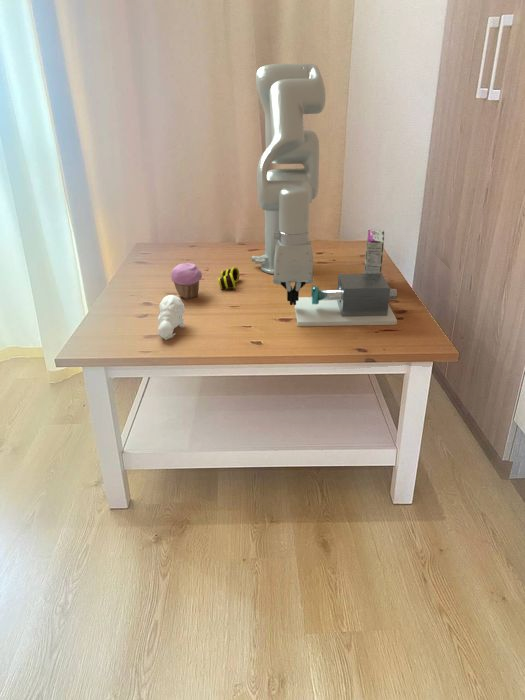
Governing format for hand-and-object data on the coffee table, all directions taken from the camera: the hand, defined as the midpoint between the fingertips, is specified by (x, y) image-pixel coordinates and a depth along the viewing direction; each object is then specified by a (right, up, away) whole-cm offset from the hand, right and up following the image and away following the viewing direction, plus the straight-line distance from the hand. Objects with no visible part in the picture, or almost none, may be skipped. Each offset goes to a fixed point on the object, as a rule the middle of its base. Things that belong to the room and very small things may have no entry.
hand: (292, 302), depth 146 cm
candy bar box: (+25, +6, +16) cm, 30 cm away
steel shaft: (+17, 0, 0) cm, 17 cm away
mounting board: (+14, -2, +1) cm, 14 cm away
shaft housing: (+19, -1, +1) cm, 19 cm away
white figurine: (-32, -8, -7) cm, 34 cm away
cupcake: (-30, +3, +13) cm, 33 cm away
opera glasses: (-19, +7, +20) cm, 28 cm away
